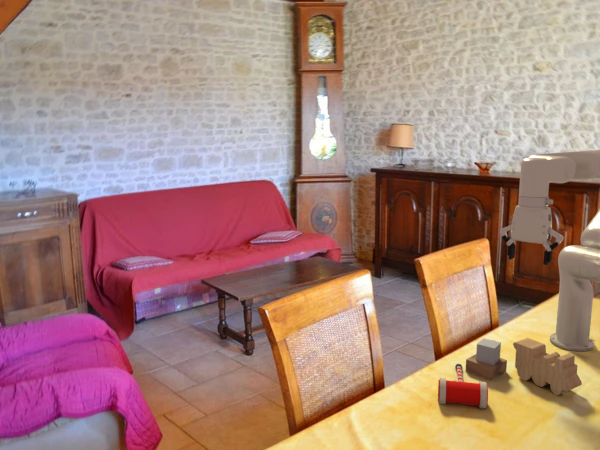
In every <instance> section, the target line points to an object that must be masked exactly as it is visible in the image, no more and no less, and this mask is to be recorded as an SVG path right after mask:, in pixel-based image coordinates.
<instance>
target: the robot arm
mask: <svg viewBox="0 0 600 450" xmlns="http://www.w3.org/2000/svg"><path fill="white" fill-rule="evenodd" d="M519 174H520V177H519V189H518V201H517V202H518V203H517V205H515V207H514V208H515V209H514V212H513V216H512V221H511V224H510V225H508V226H505V227H502V228H500V229H499V233H500V235H501V238H502V240H503V241H504V243H506V246H507V252H506V253H507V256H508V260H513V259H515V257H516V245H517V244H515V243H516V242H517V241H518V242H523V243H524V242H525V243H531V244H541V245H542V246H543V247H544V249H545V250H544V252H543V265H544V266H547V265H549V264H550V263H551V262H552V257H553V256H552V255H553V251H554V249H556V248H558V247H559V246H560V244H561V243H562V242H563V240H564V239H565V236H564V235H562V234H561V233H559V232H558V231H556V230H554V229H553V219H552V217H553V216H552V209H551V207H549V205H553V204H554V199H551V198H550V196H549V189H550V188H549V187H550V183H552V184H553V183H554V184H565V183H568V182H571V181H572V180H579V181H581V180H582V181H587V180H593V179H594V180H595V179H599V178H600V149H593V150H592V149H591V150H577V151H576V150H575V151H568V152H567V151H566V152H552V153H551V152H549V153H546V152H545V153H536V154H532V155H530V156H529V157H525V158H523V159H522V160H521V164H520V173H519ZM508 231H510V236H509V235H508V233H507V232H508ZM553 237H554V238H555V241H554V242H553V243H552V242H551V240H552V238H553ZM580 243H581V245H577V244H572V245H567V246H565V247H563V248H562V249H561V250H560V252H559V254H558V258H557V259H558V260H557V263H558V264H557V265H558V272H559V289H558V291H559V293H558V299H557V300H558V302H557V311H556V313H557V314H556V315H557V316H556V325H555V327H556V328H555V333H552V334H550V336H549V341H550V343H551V344H553V345H554V346H556V347H558V348H561V349H563V350H567V351H573V352H574V351H576V352H587V351H591V350H593V349H594V348H595V341H594V340H593V339H592V338H590V335H591V334H590V332H591V325H592V324H591V323H592V312H593V301H594V288H593V285H592V282H594V283H599V284H600V208H599V209H598V211H597V212H596V214H595V215H594V216H593V218H592V219H591V221H590V222H589V223H588V225H587V226H586V227H585V229H583V231H582V233H581V235H580Z"/></svg>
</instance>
